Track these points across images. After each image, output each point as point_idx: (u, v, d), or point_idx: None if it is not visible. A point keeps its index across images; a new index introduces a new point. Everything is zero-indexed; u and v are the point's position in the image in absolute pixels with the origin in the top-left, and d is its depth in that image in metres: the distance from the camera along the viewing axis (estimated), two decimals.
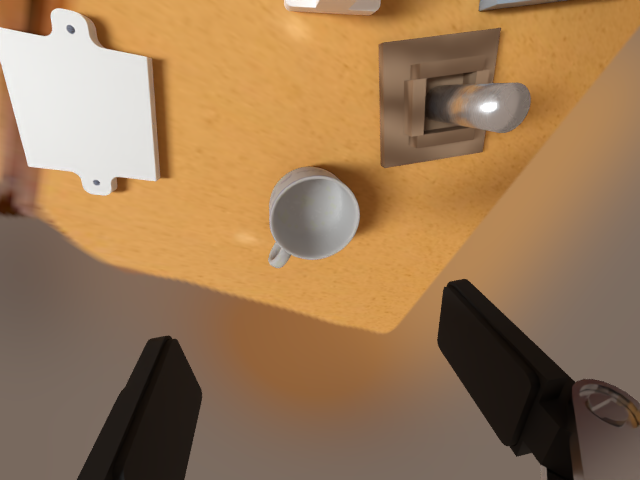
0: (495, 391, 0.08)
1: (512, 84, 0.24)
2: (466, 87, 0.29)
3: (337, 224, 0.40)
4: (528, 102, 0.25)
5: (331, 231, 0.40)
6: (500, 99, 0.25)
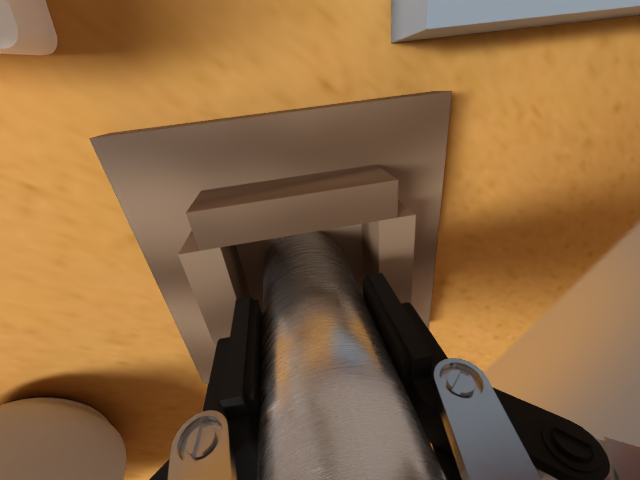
0: None
1: None
2: (292, 349, 0.08)
3: None
4: None
5: None
6: None
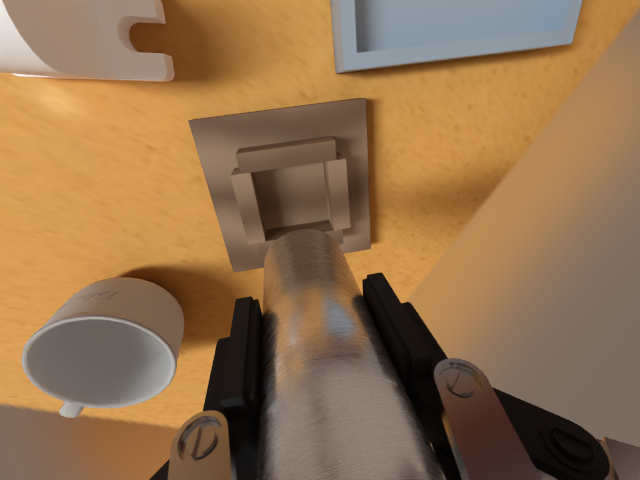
0: None
1: None
2: (292, 349, 0.08)
3: None
4: None
5: (167, 352, 0.30)
6: None
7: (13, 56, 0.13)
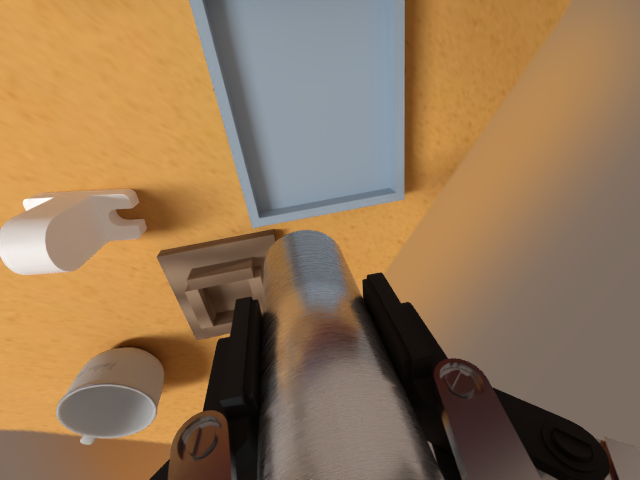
0: None
1: None
2: (292, 351, 0.08)
3: None
4: None
5: None
6: None
7: (54, 272, 0.25)
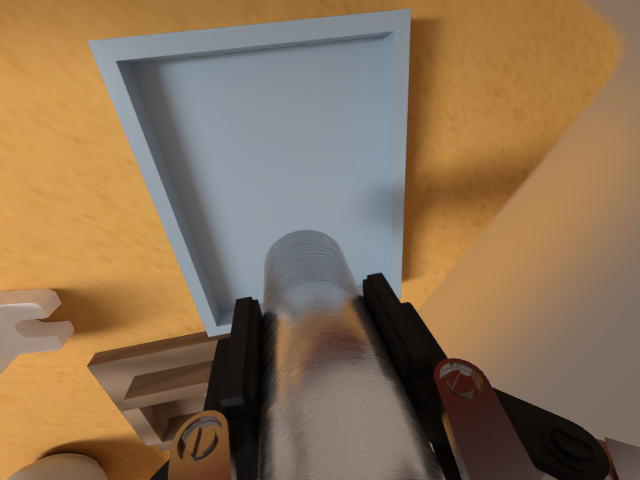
0: None
1: None
2: (292, 351, 0.08)
3: None
4: None
5: None
6: None
7: None
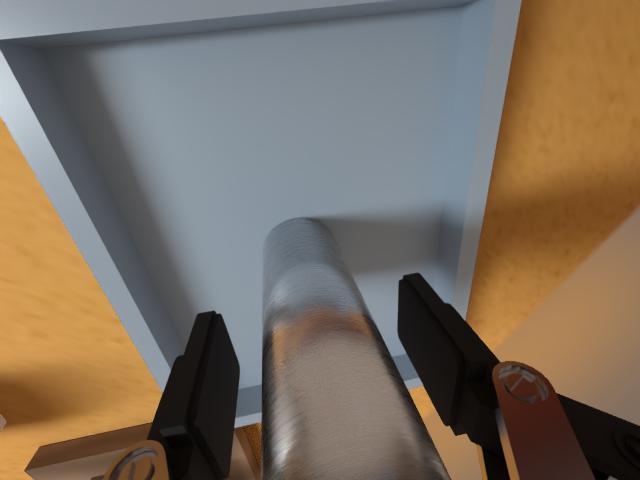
0: (436, 375, 0.08)
1: None
2: (289, 312, 0.09)
3: None
4: None
5: None
6: None
7: None
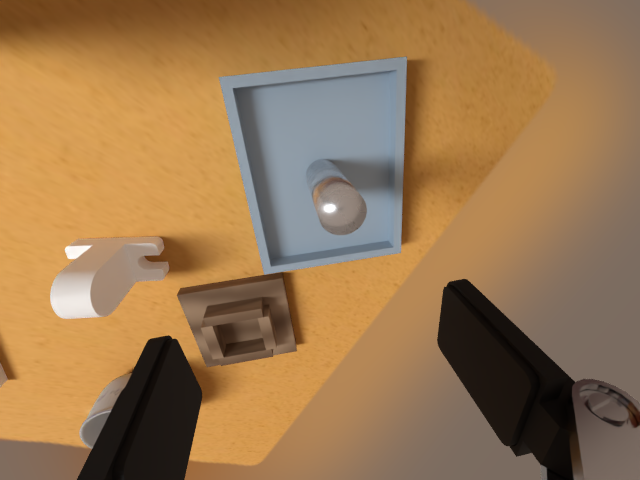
0: (495, 390, 0.08)
1: (340, 190, 0.22)
2: (321, 176, 0.27)
3: None
4: (364, 206, 0.23)
5: None
6: (330, 204, 0.23)
7: None
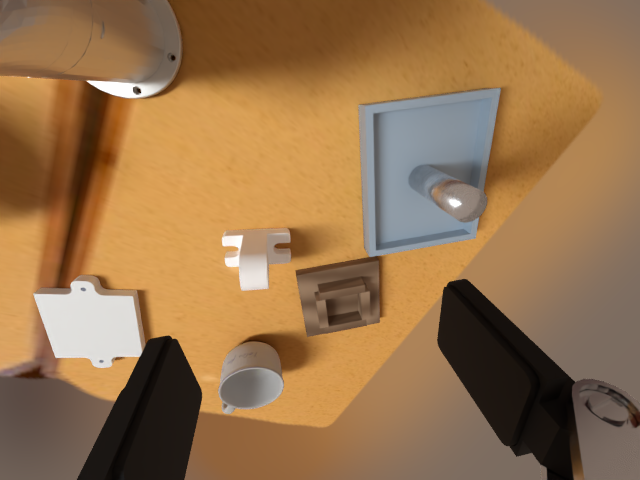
0: (495, 390, 0.08)
1: (472, 190, 0.32)
2: (440, 179, 0.36)
3: (274, 374, 0.55)
4: (485, 201, 0.33)
5: (269, 378, 0.55)
6: (463, 200, 0.32)
7: None
